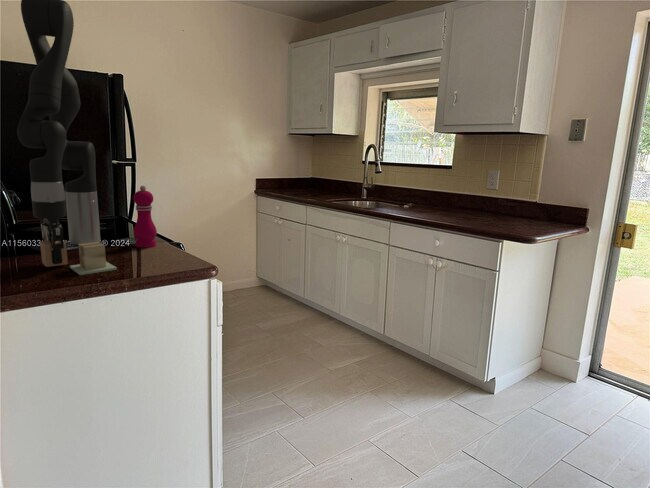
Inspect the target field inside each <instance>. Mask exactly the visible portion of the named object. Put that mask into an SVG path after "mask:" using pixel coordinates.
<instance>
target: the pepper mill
mask: <svg viewBox="0 0 650 488" xmlns="http://www.w3.org/2000/svg"><path fill="white" fill-rule="evenodd" d="M146 188H147V187H146V186H145V185H141V186H140V188H139V189H140V190H138V191H136V192H135V193H134V194H133V197H132V199H133V202H134V203H135V204H136V205H135V210H136V211H137V219H136V223H135V226H134V227H133V236H134V238H135V239H136V240H135V247H136V248H139V247H150V248H154V247H156V245H157V243H156V242H157V241H156V239H155V238H156V237H157V234H158V233H157V232H158V231H157V230H158V229H157V228H156V226H155V223H154V221H153V219H152V214H151V213H152V210H153V205H152V203H153V202H154V196H153V194H152V193H151V192H150V191H148V190H147V189H146Z"/></svg>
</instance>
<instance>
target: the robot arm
mask: <svg viewBox="0 0 650 488" xmlns="http://www.w3.org/2000/svg"><path fill="white" fill-rule="evenodd" d="M20 13H21V17H22V22H23V25H24V27H25V31H26V34H27V37H28V41H29V44H30V46H31V50H32V52H33V56H34V59H35V60H34V61H35V64H36V66H35V67H34V68H33V71H32V73H31V74H30V78H29V83H28V85H29V87H28V98H27V103H26V106H25V107H24V110H23V112H22V114H21V116H20V119H19V121H18V125H17V128H16V129H17V130H16V134H17V139H18V140H19V142H20V143H21V144H22V145H23V147H26V148H29V149H47V150H46V153H45V155H44V156H42V157H35V158H32V159H30V160H29V162H28V163H29V164H28V166H29V175H30V194H31V195H30V196H31V205H32V207H31V208H32V214H33V217H34V218H36V219H42V220H40V221H39V225H40V229H41V237H42V241H47V242H49V243H50V249H51V254H52V263H53V264H60V263H62V253H61V249H63V248H64V242H65V240H64V228H63V226H62V224H61V223H60V222H59V219H60V218H63V217H66V218H67V227H68V228H67V229H68V239H69V240H68V241H69V244H70V245H73V246H74V245H75V246H79V245H78V244H85V243H94V242H100V243H101V229H100V216H99V202H98V201H99V200H98V187H97V173H96V172H97V171H96V149H95V146H94V144H93V143H92V142H91V141H77V140H76V141H75V140H73V141H72V140H68V139H67V133H68V130H69V127H70V126H71V124H72V122H73V121H74V119H75V118H76V116H77V115H78V112H79V111H80V108H81V97H80V91H79V86H78V83H77V80H76V79H75V77H74V76H73V74H72V73H71V72H70V71H69V69H68V68H67V67H66V64H67V61H68V57H69V52H70V49H71V43H72V39H73V35H74V27H75V25H74V15H73V10H72V8H71V6H70V3H68V1H65V0H20ZM47 37H52V38H54V40H53V43H52V46H50V44H49V41H48V39H47ZM45 117H48V118H49V119H47V120H44V118H45ZM63 170H64V171H65V170H66V171H83V175H81V176H80V177H77V178H75V179H73V180H70V181H67V182H65V183H63V172H62V171H63ZM56 241H57V242H58V244H56V245H55V242H56Z"/></svg>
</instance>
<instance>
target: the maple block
mask: <svg viewBox="0 0 650 488" xmlns="http://www.w3.org/2000/svg"><path fill="white" fill-rule="evenodd" d="M77 246H78V254H79V255H78V256H79V264H80V266H81V267H82V268H84V269H85V270H90V269H97V268H103V267H106V262H107V259H106V257H107V256H106V246H105V244H103V243H101V241H100V242H94V243H85V244H78V245H77Z"/></svg>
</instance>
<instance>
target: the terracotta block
mask: <svg viewBox="0 0 650 488" xmlns="http://www.w3.org/2000/svg"><path fill="white" fill-rule="evenodd" d="M56 244H58V242H57V241H56V242H55V245H56ZM39 245H40V254H41V255H40V256H41V263H42V264H43V265H44V267H46V268H50V267H56V266H63V265H69V262H68V261H69V260H68V251H67V243H66V242H65V241H64V248H63V249H61V253H62V263H60V264H53V263H52V254H51V249H50V243H49V242H47V241H43V240H42V241H41V240H40V241H39Z"/></svg>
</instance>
